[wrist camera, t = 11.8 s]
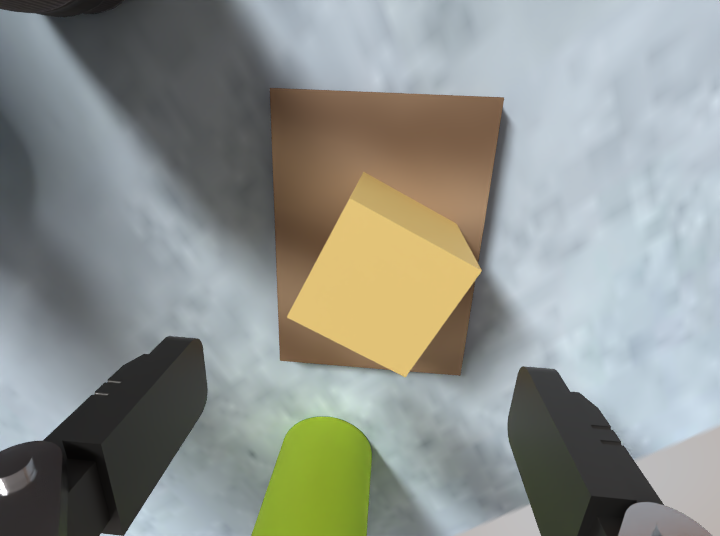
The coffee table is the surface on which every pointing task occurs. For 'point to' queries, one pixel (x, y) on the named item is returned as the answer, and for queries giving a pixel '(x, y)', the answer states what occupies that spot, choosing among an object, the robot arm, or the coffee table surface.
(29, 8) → the camera lens
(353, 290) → the tan wooden block
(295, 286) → the post board
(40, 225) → the coffee table surface
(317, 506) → the soap dispenser
